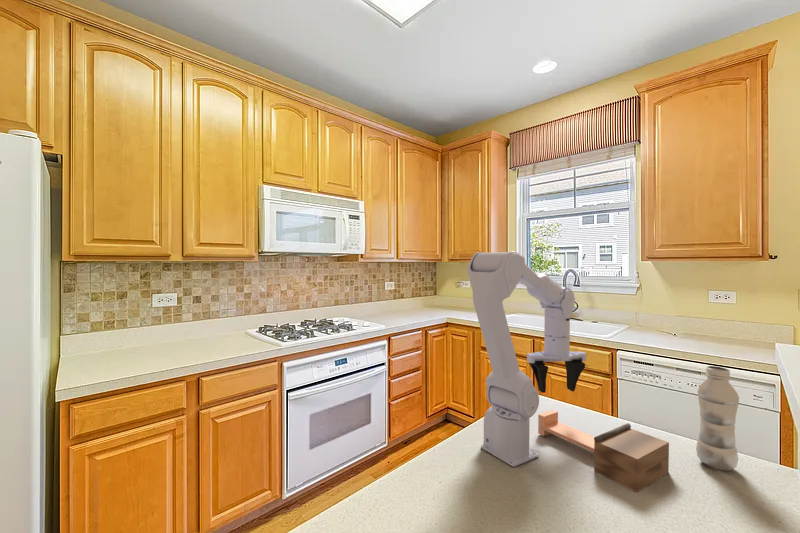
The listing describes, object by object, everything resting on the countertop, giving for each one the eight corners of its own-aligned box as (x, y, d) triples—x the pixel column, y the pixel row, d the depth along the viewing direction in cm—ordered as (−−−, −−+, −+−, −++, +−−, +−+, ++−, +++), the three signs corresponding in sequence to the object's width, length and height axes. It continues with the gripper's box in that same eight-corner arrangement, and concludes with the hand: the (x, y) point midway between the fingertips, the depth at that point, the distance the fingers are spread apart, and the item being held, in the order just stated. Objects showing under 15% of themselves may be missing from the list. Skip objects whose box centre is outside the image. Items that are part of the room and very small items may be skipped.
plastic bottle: (720, 458, 79) (722, 364, 78) (747, 476, 72) (749, 373, 72) (688, 456, 79) (689, 363, 79) (711, 474, 72) (713, 372, 72)
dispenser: (593, 470, 74) (593, 436, 74) (625, 454, 80) (626, 422, 80) (637, 492, 67) (637, 454, 67) (668, 472, 73) (668, 437, 73)
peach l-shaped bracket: (538, 433, 89) (538, 414, 89) (552, 428, 92) (552, 409, 92) (594, 459, 77) (594, 437, 77) (607, 452, 80) (608, 431, 80)
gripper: (537, 339, 86) (536, 398, 86) (594, 338, 88) (594, 395, 88) (523, 333, 93) (522, 387, 93) (576, 332, 95) (576, 385, 95)
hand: (556, 390), depth 91 cm, fingers open, 7 cm apart
